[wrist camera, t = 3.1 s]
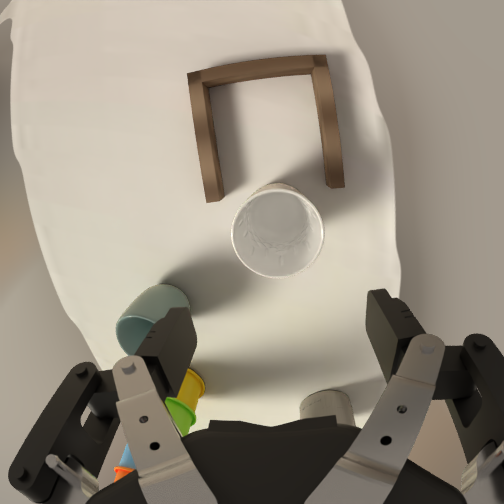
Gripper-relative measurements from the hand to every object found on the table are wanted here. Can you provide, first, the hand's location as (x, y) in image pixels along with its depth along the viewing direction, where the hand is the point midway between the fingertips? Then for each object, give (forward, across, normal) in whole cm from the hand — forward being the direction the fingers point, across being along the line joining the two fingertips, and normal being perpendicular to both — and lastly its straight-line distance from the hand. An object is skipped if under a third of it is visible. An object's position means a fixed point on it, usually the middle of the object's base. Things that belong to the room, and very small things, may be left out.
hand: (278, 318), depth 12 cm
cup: (+22, +16, +11) cm, 30 cm away
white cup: (+22, 0, 0) cm, 22 cm away
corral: (+22, 0, -10) cm, 24 cm away
